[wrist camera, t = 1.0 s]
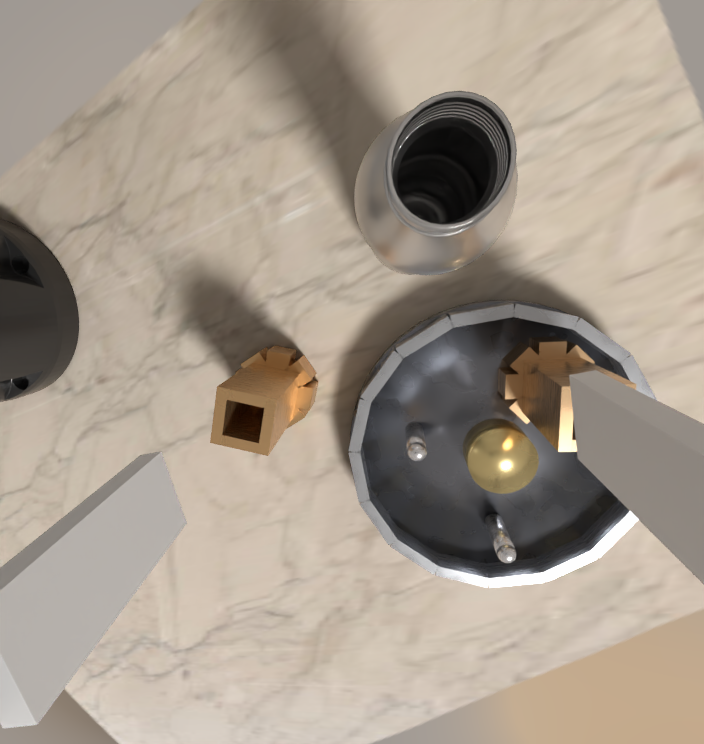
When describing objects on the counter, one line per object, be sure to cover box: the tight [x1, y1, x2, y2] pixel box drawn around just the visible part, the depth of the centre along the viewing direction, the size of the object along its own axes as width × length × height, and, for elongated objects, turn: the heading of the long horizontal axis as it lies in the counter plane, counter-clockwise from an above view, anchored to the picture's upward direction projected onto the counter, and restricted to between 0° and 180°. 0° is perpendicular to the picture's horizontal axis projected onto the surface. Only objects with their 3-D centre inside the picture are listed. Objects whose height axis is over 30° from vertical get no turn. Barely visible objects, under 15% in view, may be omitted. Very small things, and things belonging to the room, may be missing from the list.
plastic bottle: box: [354, 91, 518, 275], centre depth 22 cm, size 6×7×20 cm
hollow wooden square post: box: [210, 345, 318, 456], centre depth 31 cm, size 6×6×9 cm
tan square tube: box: [498, 336, 637, 452], centre depth 27 cm, size 6×6×9 cm
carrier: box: [349, 300, 657, 588], centre depth 32 cm, size 23×23×6 cm
